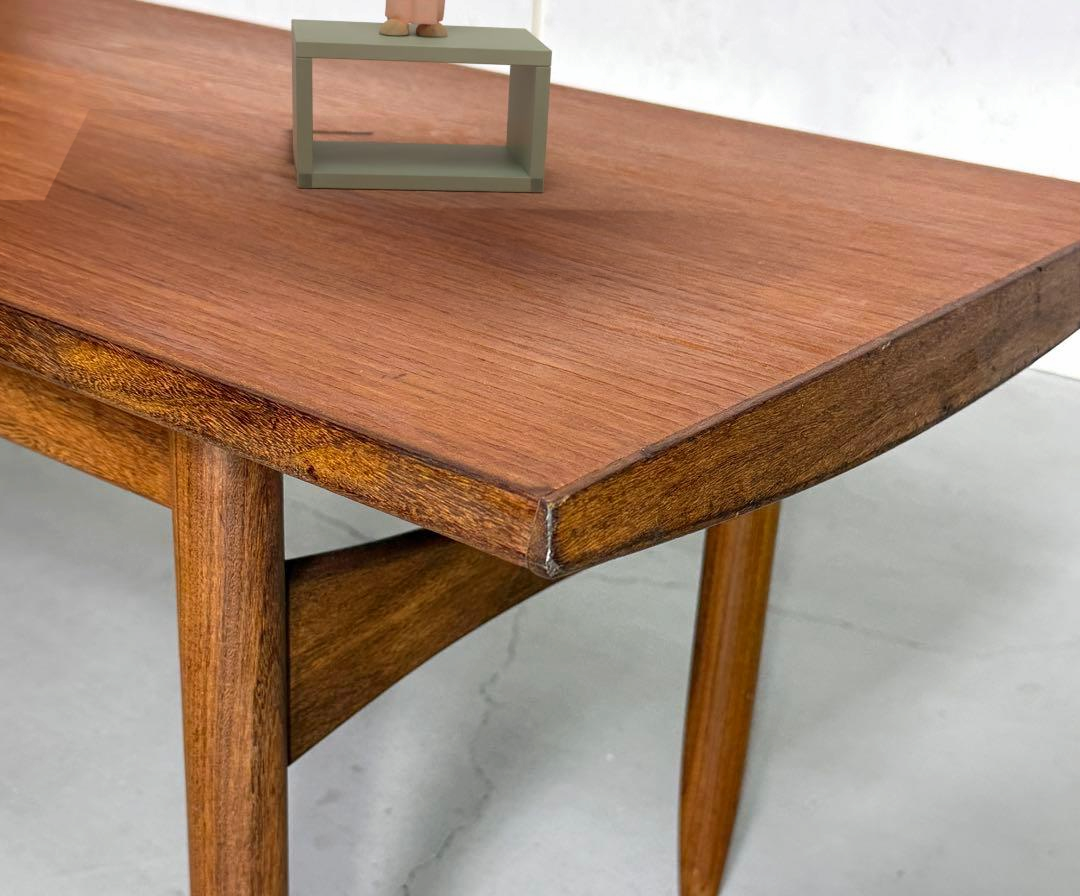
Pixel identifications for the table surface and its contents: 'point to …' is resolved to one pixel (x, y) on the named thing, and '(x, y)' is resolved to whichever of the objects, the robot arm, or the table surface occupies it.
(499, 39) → the frame
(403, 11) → the grandmother figurine
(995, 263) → the table surface
